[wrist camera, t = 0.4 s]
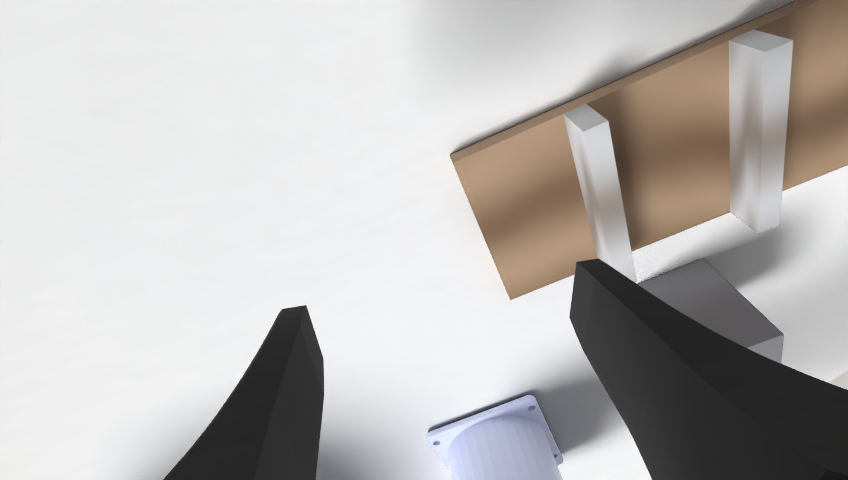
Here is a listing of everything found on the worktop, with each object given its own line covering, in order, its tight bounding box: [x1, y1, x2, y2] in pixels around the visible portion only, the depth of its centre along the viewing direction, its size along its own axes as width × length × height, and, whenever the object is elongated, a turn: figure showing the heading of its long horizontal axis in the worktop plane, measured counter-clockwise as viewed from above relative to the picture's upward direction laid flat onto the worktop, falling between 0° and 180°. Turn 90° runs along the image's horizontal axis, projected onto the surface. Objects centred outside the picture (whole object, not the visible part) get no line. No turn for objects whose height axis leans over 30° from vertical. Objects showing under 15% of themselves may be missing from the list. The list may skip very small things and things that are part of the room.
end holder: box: [450, 0, 848, 300], centre depth 21 cm, size 9×18×3 cm, turn 112°
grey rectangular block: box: [638, 258, 784, 364], centre depth 25 cm, size 4×4×6 cm
